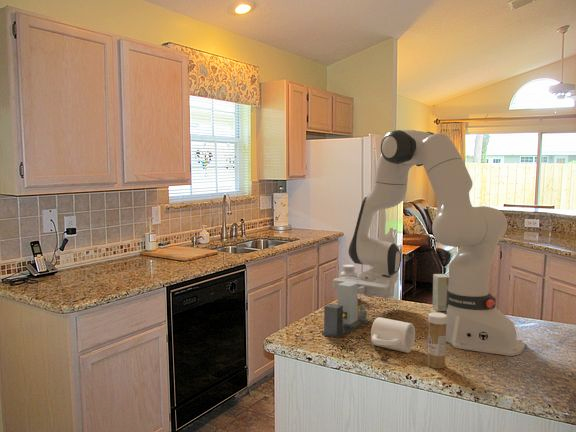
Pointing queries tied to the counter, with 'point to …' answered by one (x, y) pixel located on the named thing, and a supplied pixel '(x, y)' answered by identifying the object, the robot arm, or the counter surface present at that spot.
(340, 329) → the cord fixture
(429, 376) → the counter surface
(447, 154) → the robot arm
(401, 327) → the mug
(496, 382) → the counter surface
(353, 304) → the box sleeve
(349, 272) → the supplement bottle
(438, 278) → the skincare box
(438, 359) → the sprinkles bottle
